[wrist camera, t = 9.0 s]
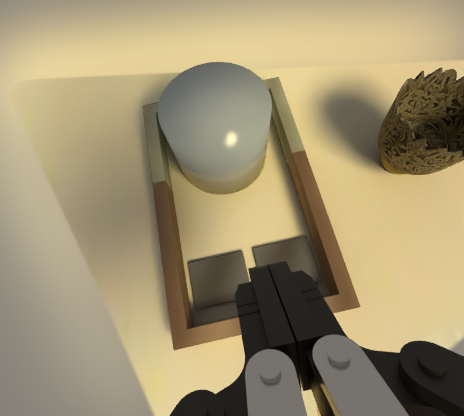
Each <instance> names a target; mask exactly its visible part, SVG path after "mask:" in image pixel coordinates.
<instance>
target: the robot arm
mask: <svg viewBox="0 0 464 416" xmlns="http://www.w3.org/2000/svg"><path fill="white" fill-rule="evenodd" d="M249 274H250V279H251V282H247V283H243V284H238V287H237V290H236V293H235V299H236V305H237V311H238V316H239V322H240V328H241V334H242V340H243V346H244V352H245V364H244V368H243V370H242V372H241V374H240V376H239V377H238V378H237V379H236V380H235V381H234V382H233V383H232V384H231V385H229V386H228V387H226V388H225V389H223V390H221V391H220V392H218V393H217V394H214V393H213V392H211V391H208V390H196V391H193V392H191V393H189V394H187V395H186V396H185V397H184V398H182V399H181V400H180V402H179V403H178V404H177V405H176V407H175V408H174V410H173V411H172V413H171V414H170V416H307V413H306V409H305V405H304V401H303V397H302V394H301V385H302V388H303V391H305V390H310V389H311V390H312V392H313V395H314V398H315V401H316V403H317V412H318V416H464V356H461V355H459V354H457V353H455V352H452V351H450V350H448V349H446V348H444V347H441V346H439V345H437V344H434V343H431V342H426V341H412V342H409V343H407V344H405V345H404V346H403V347H402V349H401V351H400V353H395V352H383V351H374V350H369V349H366V348H363V347H361V346H359V345H358V344H357V343H356V342H354V341H353V340H351V339H349V338H348V337H347V336H346V334H345V333H344V332H343V330H342V328H341V326H340V325H339V323H338V321H337V320H336V318H335V316H334V314H333V313H332V311H331V309H330V308H329V306H328V304H327V302H326V301H325V299H324V298H323V296H322V294H321V292H320V290H318V287H317V285H316V284H315V282H314V280H313V278H312V277H310V276H309V275H308V274H306V273H305V272H304V271H302V270H300V271H296V272H291V270H290V268H289V266H288V264H287V262H286V261H285V260H284V261H279V262H275V263H271V264H267V265H262V266H257V267H253V268H249ZM300 382H301V384H300Z"/></svg>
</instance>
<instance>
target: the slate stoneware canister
mask: <svg viewBox="0 0 464 416" xmlns="http://www.w3.org/2000/svg"><path fill="white" fill-rule="evenodd" d="M271 112H272V101H271V96H270V93H269V91H268V88H267V87H266V85H265V83H264V82H263V81H262V80H261V79H260V78H259V77H258V76H257V75H256V74H255V73H253V72H252V71H250V70H248V69H246V68H244V67H242V66H239V65H236V64H232V63H224V62H212V63H205V64H201V65H197V66H194V67H192V68H190V69H188V70H186V71H184V72H182V73H181V74H179V75H178V76H177V77H175V78H174V79H173V80H172V81H171V82H170V83H169V84H168V86H167V87H166V88H165V90H164V92H163V94H162V96H161V98H160V101H159V106H158V119H159V123H160V126H161V128H162V130H163V132H164V134H165V136H166V139H167V141H168V143H169V145H170V147H171V149H172V151H173V153H174V155H175V157H176V159H177V161H178V163H179V165H180V167H181V169H182V171H183V173H184V175H185V177H186V178H187V179H188V181H189V182H190V183H191V184H193V185H194V186H195V187H197V188H198V189H200V190H202V191H204V192H207V193H211V194H220V195H221V194H231V193H235V192H238V191H240V190H242V189H244V188H246V187H248V186H249V185H250V184H252V183H253V182H254V181H255V180H256V179H257V177H258V176H259V175H260V173H261V171H262V169H263V167H264V163H265V158H266V150H267V143H268V135H269V128H270V120H271Z"/></svg>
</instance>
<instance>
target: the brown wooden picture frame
mask: <svg viewBox="0 0 464 416" xmlns="http://www.w3.org/2000/svg"><path fill="white" fill-rule="evenodd" d="M262 81H263V82H264V83H265V85H266V87H267V88H268V91H269V93H270V96H271V101H272V112H271V114H272V117H273V120H274V123H275V126H276V129H277V133H278V136H279V139H280V142H281V145H282V148H283V151H284V154H285V157H286V160H287V163H288V167H289V170H290V173H291V176H292V179H293V182H294V185H295V188H296V191H297V194H298V197H299V200H300V204H301V207H302V210H303V213H304V216H305V219H306V222H307V225H308V228H309V231H310V234H311V237H312V241H313V244H314V247H315V250H316V253H317V256H318V259H319V262H320V265H321V268H322V271H323V275H324V278H325V281H326V284H327V287H328V290H329V293H330V295H328V296H324V297H323V298H324V299H325V301H326V302H327V304H328V306H329V308H330V309H331V311H332V313H336V312H341V311H345V310H349V309H354V308H358V307H360V304H359V302H358V299H357V296H356V293H355V290H354V288H353V285H352V282H351V279H350V276H349V273H348V271H347V268H346V265H345V262H344V259H343V257H342V254H341V251H340V248H339V245H338V242H337V240H336V237H335V234H334V231H333V228H332V226H331V223H330V220H329V217H328V214H327V212H326V209H325V206H324V203H323V200H322V197H321V195H320V192H319V189H318V186H317V183H316V181H315V178H314V175H313V172H312V169H311V167H310V164H309V161H308V158H307V155H306V152H305V150H304V147H303V144H302V141H301V138H300V136H299V133H298V130H297V127H296V124H295V122H294V119H293V116H292V113H291V110H290V107H289V105H288V102H287V99H286V96H285V93H284V91H283V88H282V85H281V82H280V79H279V77H276V78H271V79H267V80H262ZM158 106H159V102H158V103H153V104H148V105H144V106H143V113H144V121H145V128H146V136H147V144H148V152H149V160H150V168H151V176H152V184H153V191H154V199H155V207H156V215H157V223H158V231H159V239H160V247H161V254H162V262H163V270H164V278H165V286H166V294H167V302H168V310H169V317H170V325H171V333H172V341H173V349H174V350H177V349H181V348H186V347H190V346H194V345H199V344H203V343H207V342H212V341H216V340H220V339H225V338H229V337H233V336H237V335H242V334H241V328H240V322H239V316H237V317H233V318H229V319H224V320H220V321H216V322H211V323H207V324H203V325H198V326H194V327H193V323H192V316H191V310H190V303H189V297H188V290H187V284H186V277H185V270H184V264H183V257H182V251H181V244H180V238H179V231H178V225H177V218H176V212H175V205H174V199H173V192H172V185H171V179H170V172H169V166H168V159H167V153H166V146H165V140H164V133H163V130H162V128H161V126H160V123H159V119H158ZM253 251H254V255H255V259H256V264H257V266H262V265H267V264H271V263H275V262H279V261H284V260H285V261H286V262H287V264H288V266H289V268H290V270H291V272H296V271H300V270H302V271H304V272H305V273H306V274H308V275H309V276H310V277H312V278H313V280H314V282H318V281H320V277H319V274H318V271H317V268H316V265H315V262H314V259H313V255H312V252H311V249H310V246H309V243H308V240H307V237H303V238H298V239H294V240H289V241H285V242H280V243H276V244H271V245H267V246H263V247H258V248H254V249H253ZM188 264H189V270H190V277H191V283H192V289H193V296H194V302H195V308H196V309H200V308H205V307H209V306H213V305H218V304H222V303H226V302H231V301H235V300H236V299H235V293H236V290H237V287H238V284H243V283H247V282H249V278H248V273H247V269H246V265H245V260H244V256H243V252H242V251H240V252H236V253H232V254H227V255H223V256H218V257H214V258H209V259H205V260H200V261H196V262H192V263H188Z"/></svg>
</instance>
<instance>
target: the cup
mask: <svg viewBox="0 0 464 416" xmlns="http://www.w3.org/2000/svg"><path fill="white" fill-rule="evenodd" d="M442 72H443V71H442V68H439V69H437V70H436V71H434V72H433V73H431V74H428V75H427V76H426V77H425V76H424V71H422V72H421V73H420V74H419V75H418V76H417V77H416V78H415V79H412V78H410V79H407V81H406V82H405V83H404V85H403V86H402V88H401V89H400V91H399V93H398V95H397V97H396V99H395V100H394V102H393V104H392V106H391V108H390V110H389V112H388V113H387V115H386V117H385V119H384V121H383V124H382V126H381V128H380V132H379V136H378V146H379V150H380V161H381V164H382V165H383V167H384V168H385V169H386V170H388V171H389V172H391V173H394V174H399V175H402V174H411V175H425V174H431V173H434V172H438V171H440V170H443V169H445V168H448V167H450V166H452V165H454V164H456V163H458V162H460V161H462V160H464V76H463V77H462V78H461V79H459V80H456V77H457V74H456V73H457V72H456V71H455V70H454V69H450V70H446V71H445V72H443V73H442ZM455 81H456V82H455Z"/></svg>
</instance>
